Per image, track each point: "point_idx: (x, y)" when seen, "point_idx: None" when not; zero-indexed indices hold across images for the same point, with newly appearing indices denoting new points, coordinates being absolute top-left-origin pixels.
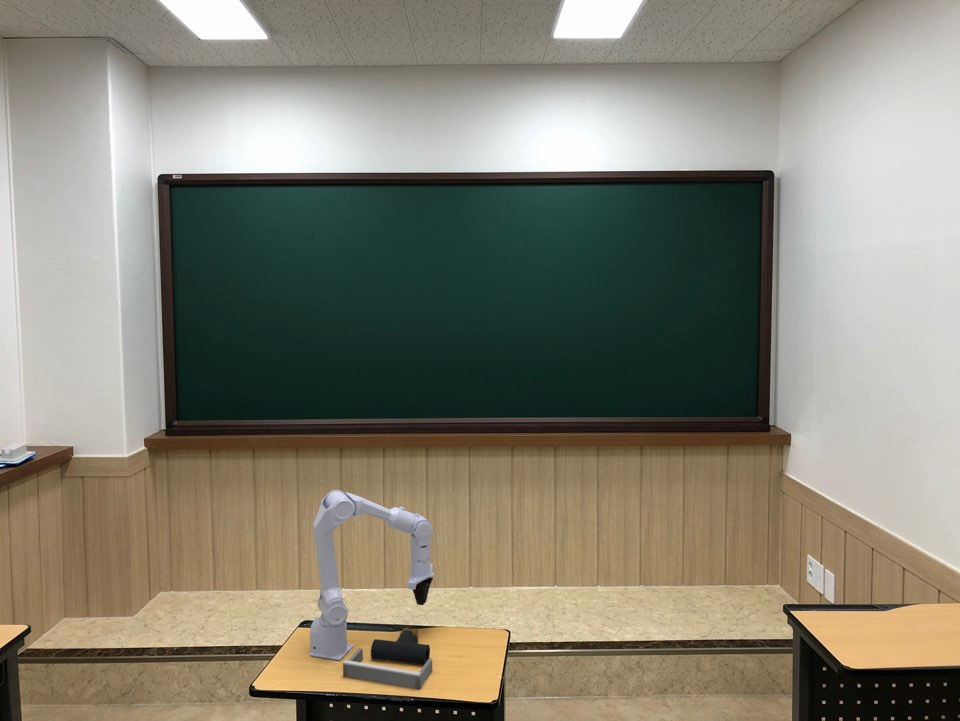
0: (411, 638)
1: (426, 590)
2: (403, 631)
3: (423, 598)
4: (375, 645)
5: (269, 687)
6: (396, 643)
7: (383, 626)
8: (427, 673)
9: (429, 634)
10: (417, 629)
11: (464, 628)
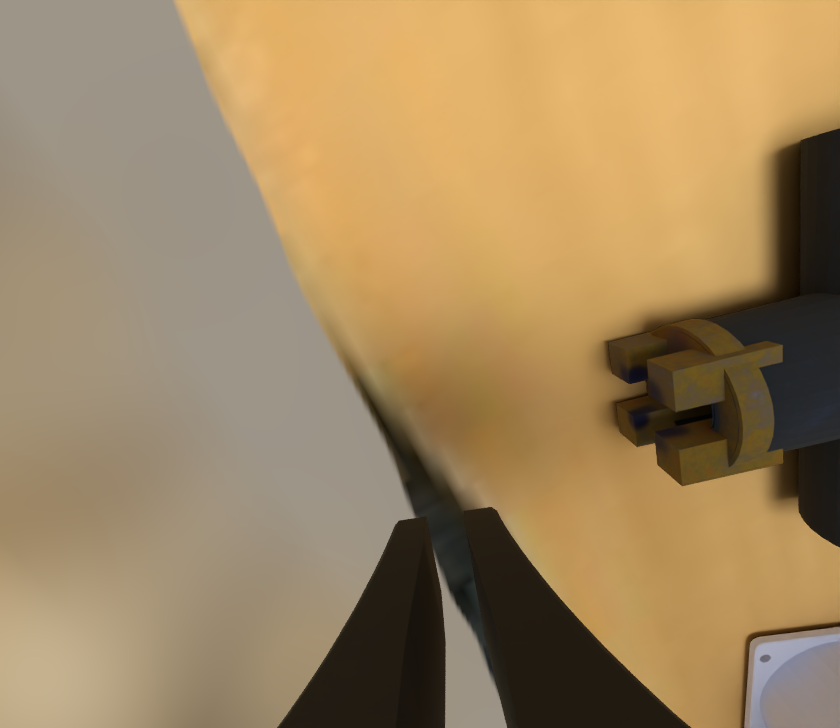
0: (828, 337)
1: (407, 695)
2: (759, 454)
3: (538, 579)
4: None
5: None
6: None
7: None
8: None
9: (456, 338)
10: (677, 369)
11: (248, 133)
